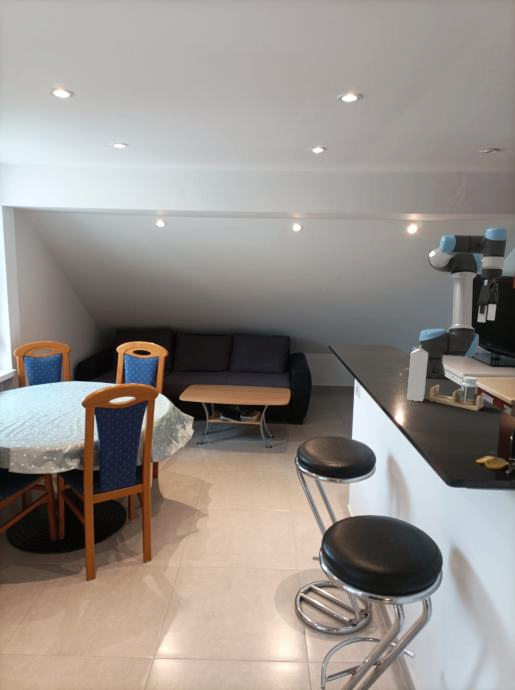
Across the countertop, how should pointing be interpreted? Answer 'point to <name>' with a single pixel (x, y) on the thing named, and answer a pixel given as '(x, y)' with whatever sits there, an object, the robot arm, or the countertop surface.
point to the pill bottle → (468, 390)
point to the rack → (455, 399)
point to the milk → (417, 375)
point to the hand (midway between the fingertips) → (486, 321)
